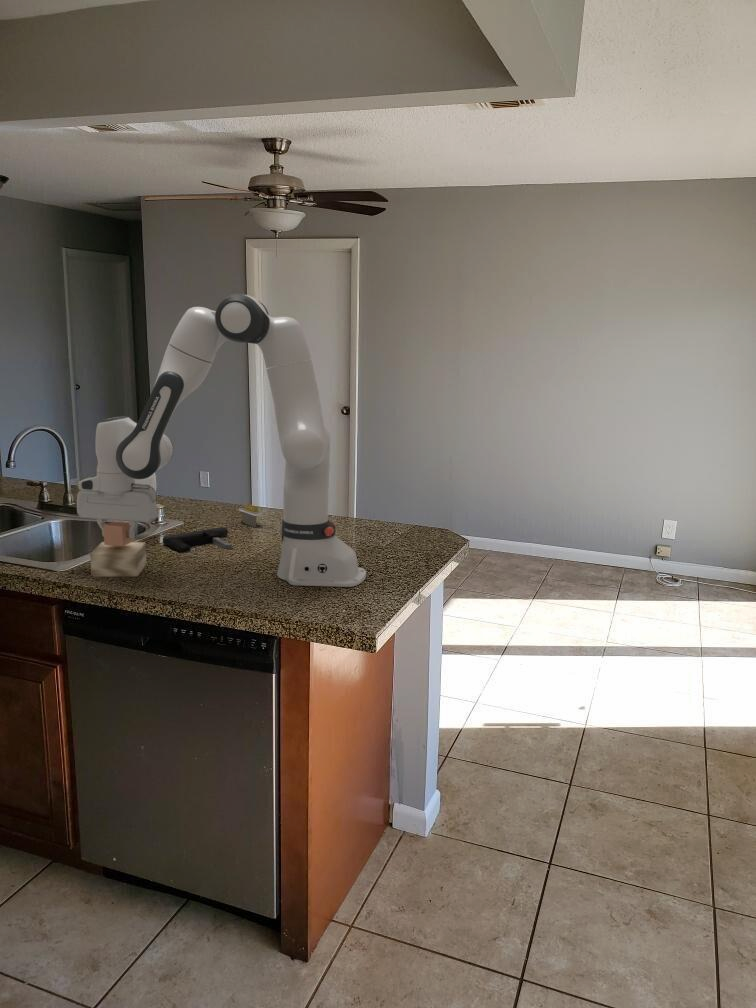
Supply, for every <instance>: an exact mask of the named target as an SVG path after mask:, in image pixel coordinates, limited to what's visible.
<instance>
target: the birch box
mask: <svg viewBox="0 0 756 1008" xmlns="http://www.w3.org/2000/svg"><path fill="white" fill-rule="evenodd" d="M146 546H147V543H146V542H144V541H142V542H141V541H139V542H138V541H136V542H134V541H133V542H131V543H129V544H127V545H125V546H113V545H104V541H101V542H100V543H99V544H98V545H97V546H96V547H95V548H94V549H93V550H92V551H91V552H90V553H89V557H90V558H89V559H90V576H91V577H138V576H139V575H140V574H141V572H142V571H143V569H144V568H145V566H146V565H147V548H146Z"/></svg>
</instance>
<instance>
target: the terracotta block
mask: <svg viewBox="0 0 756 1008" xmlns="http://www.w3.org/2000/svg"><path fill="white" fill-rule="evenodd" d="M131 526H132V525H129V521H122V520H111V521H110V522H107V523H106V524H105V525H103V527H104V536H103V542H104V545H113V546H125V545H127V544H129V543H131V542H134V538H126V531H128V530H130V528H131Z"/></svg>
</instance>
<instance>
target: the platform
mask: <svg viewBox="0 0 756 1008" xmlns="http://www.w3.org/2000/svg"><path fill="white" fill-rule="evenodd" d="M238 511H239V512H242V524H244V523H245V524H244V525H247V524H248V525H247V526H250V527H253V528H255V527H256V528H257V516H260V515H262V513H263V511H261V510H259V506H256V505H254V504H250V503H245V504H243V507H240V508H238Z"/></svg>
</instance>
